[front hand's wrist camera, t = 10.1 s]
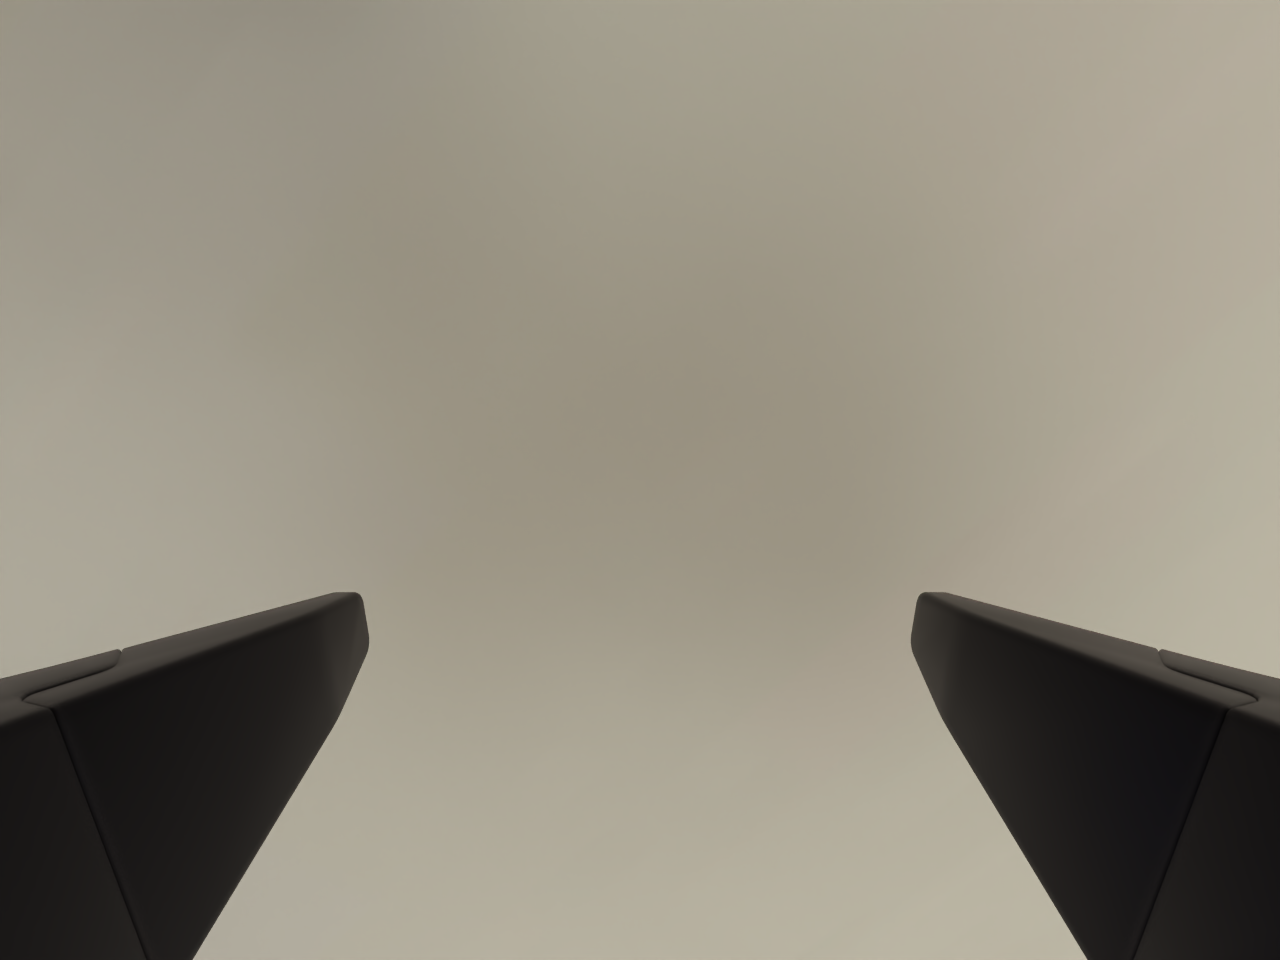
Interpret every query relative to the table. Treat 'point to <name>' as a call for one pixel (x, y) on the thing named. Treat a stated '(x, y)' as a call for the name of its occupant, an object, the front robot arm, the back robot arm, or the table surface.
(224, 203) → the table surface
